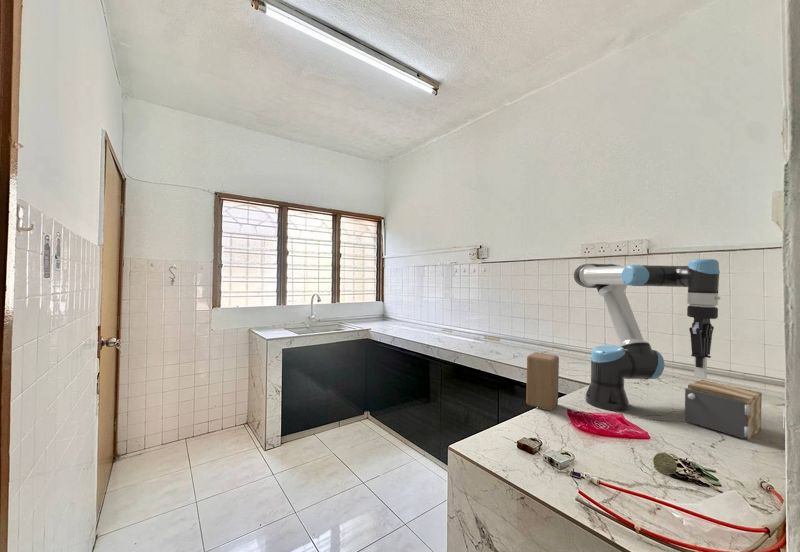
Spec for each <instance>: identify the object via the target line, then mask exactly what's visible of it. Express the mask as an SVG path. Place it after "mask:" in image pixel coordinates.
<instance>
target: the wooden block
mask: <svg viewBox="0 0 800 552" xmlns="http://www.w3.org/2000/svg"><path fill="white" fill-rule="evenodd" d="M559 363H560V358H559V356H558V355H556V354H551V353H544V352H537V351H535V352H533V353H530V354H529V355H527V357H526V388H525V389H526V390H525V391H526V392H525V394H526V397H525V398H526V399H525V403H526V404H527V405H528V406H530V407H535V408H539V407H541V408H539V409H543V410H545V411H552V410H553V409H554V408H555V407H556V406H558V404H559V371H560V370H559V369H560V368H559V367H560V365H559Z"/></svg>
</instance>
